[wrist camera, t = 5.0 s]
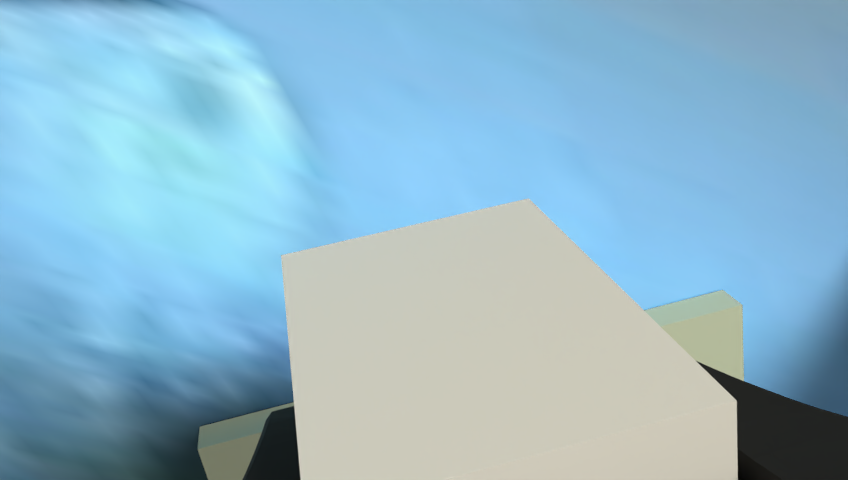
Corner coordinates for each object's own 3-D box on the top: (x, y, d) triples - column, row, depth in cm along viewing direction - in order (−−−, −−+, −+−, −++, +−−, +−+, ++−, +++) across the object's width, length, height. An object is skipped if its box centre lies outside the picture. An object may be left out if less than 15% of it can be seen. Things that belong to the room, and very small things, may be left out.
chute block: (528, 198, 13) (736, 400, 7) (559, 450, 15) (741, 761, 9) (281, 255, 12) (304, 518, 7) (346, 508, 14) (405, 871, 9)
